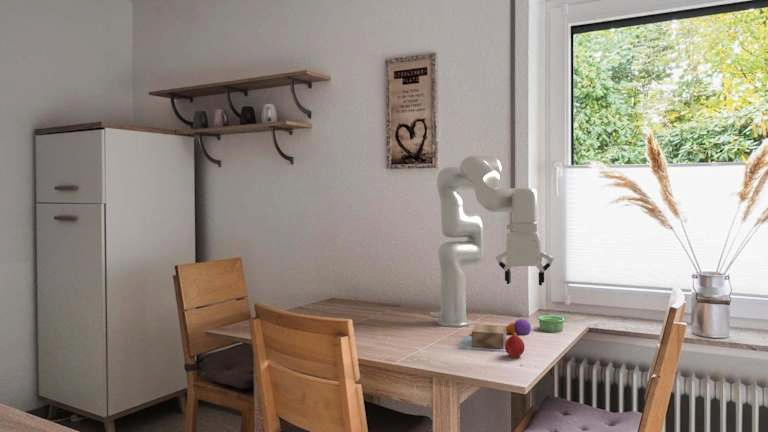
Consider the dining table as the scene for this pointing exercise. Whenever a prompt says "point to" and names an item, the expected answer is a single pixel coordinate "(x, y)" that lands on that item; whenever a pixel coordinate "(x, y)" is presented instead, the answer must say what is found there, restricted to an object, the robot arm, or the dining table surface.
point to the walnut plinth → (489, 336)
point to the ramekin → (551, 323)
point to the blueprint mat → (468, 345)
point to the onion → (514, 346)
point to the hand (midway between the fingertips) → (524, 284)
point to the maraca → (519, 327)
